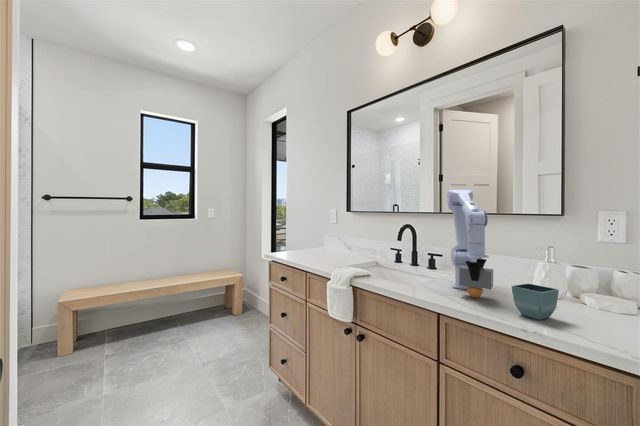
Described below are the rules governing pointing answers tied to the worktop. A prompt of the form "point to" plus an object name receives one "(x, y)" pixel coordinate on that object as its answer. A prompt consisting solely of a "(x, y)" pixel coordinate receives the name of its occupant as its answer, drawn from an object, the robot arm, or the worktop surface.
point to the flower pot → (535, 300)
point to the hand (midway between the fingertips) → (476, 279)
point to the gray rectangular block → (483, 281)
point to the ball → (474, 291)
